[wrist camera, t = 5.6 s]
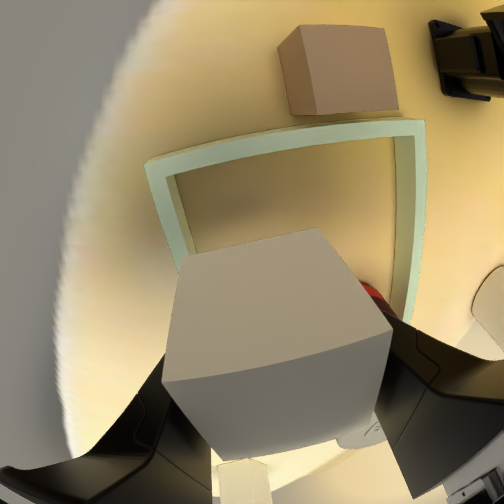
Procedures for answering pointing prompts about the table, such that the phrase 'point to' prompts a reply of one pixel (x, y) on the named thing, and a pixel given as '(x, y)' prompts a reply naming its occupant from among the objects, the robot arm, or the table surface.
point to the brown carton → (337, 70)
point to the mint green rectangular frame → (401, 128)
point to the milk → (244, 483)
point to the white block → (274, 346)
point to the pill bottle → (491, 306)
